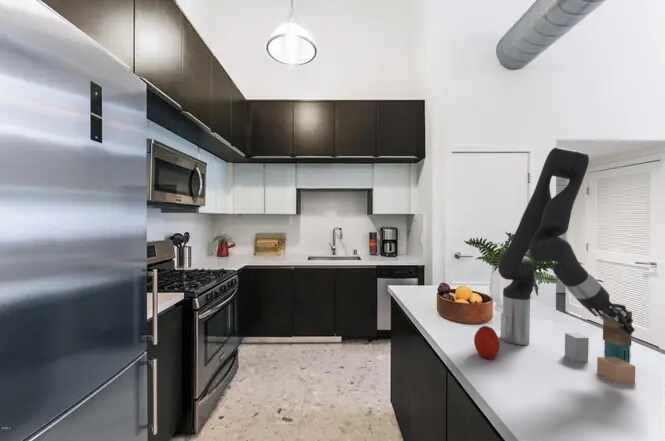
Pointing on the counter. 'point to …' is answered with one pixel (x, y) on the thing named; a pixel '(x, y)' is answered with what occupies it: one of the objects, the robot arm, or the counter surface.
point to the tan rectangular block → (615, 331)
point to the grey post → (576, 347)
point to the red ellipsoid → (487, 342)
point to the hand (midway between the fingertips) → (622, 328)
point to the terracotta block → (616, 369)
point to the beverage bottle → (618, 347)
